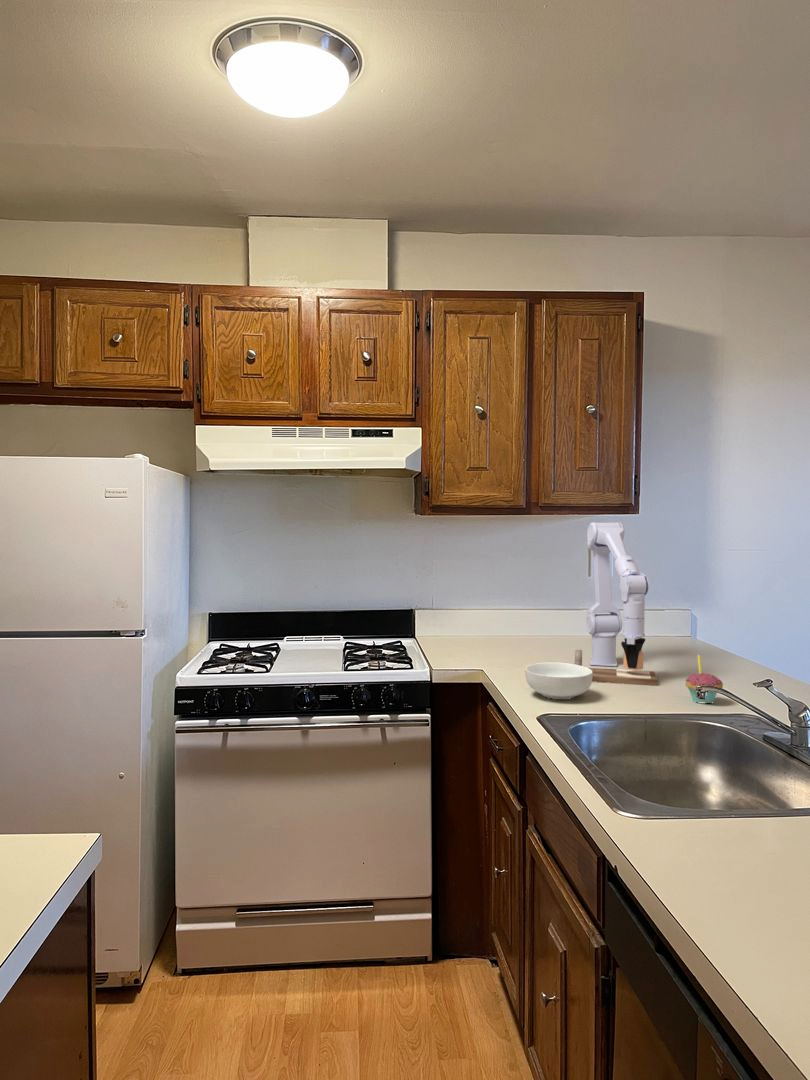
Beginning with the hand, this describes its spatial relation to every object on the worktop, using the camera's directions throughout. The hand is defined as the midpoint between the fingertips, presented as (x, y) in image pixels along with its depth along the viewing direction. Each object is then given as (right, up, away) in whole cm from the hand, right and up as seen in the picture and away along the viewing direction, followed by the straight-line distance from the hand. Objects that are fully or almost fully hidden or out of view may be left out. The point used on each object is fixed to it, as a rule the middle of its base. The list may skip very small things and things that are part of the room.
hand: (633, 665), depth 201 cm
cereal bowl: (-25, -5, -18) cm, 31 cm away
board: (-8, -4, +2) cm, 9 cm away
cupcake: (+10, -5, -23) cm, 26 cm away
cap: (0, -1, 0) cm, 0 cm away
